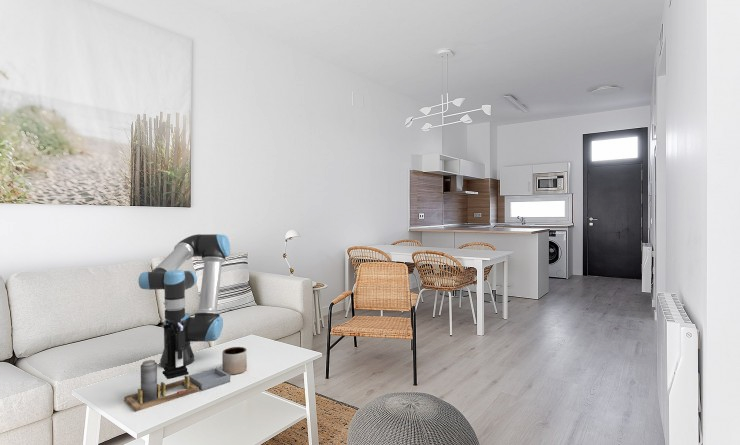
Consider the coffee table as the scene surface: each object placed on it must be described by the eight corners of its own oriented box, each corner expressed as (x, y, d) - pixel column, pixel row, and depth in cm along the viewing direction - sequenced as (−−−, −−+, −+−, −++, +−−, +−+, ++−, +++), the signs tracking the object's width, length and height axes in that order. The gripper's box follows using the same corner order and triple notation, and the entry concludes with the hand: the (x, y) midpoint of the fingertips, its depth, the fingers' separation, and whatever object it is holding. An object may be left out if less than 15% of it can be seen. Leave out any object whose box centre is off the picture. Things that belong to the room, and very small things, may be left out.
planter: (221, 376, 182) (221, 355, 182) (223, 367, 192) (223, 347, 192) (246, 374, 185) (246, 353, 185) (246, 365, 195) (246, 345, 195)
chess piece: (182, 368, 172) (182, 321, 171) (188, 374, 166) (188, 325, 165) (162, 373, 167) (162, 325, 166) (167, 379, 161) (167, 329, 160)
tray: (188, 382, 175) (188, 375, 175) (216, 374, 185) (216, 367, 185) (201, 391, 167) (201, 383, 167) (230, 381, 176) (230, 375, 176)
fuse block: (124, 400, 158) (123, 362, 158) (185, 382, 176) (185, 348, 175) (135, 411, 149) (135, 371, 149) (199, 391, 166) (198, 355, 166)
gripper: (156, 306, 169) (156, 360, 170) (175, 314, 156) (175, 373, 157) (174, 303, 175) (175, 355, 176) (194, 311, 161) (195, 367, 162)
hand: (175, 363), depth 166 cm, fingers closed on chess piece, 7 cm apart
